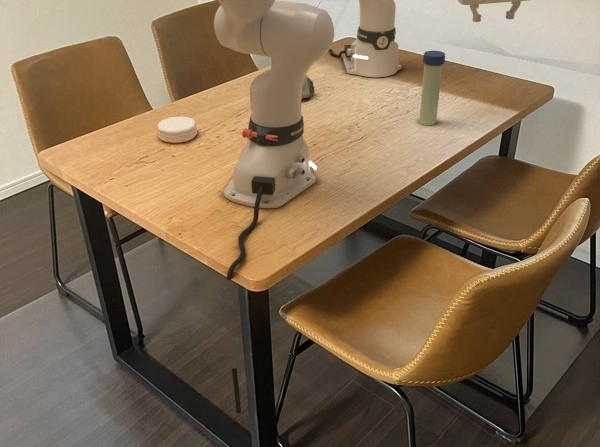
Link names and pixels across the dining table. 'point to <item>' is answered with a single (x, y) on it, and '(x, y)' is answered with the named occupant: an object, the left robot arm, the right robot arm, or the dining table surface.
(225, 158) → the dining table surface
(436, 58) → the lid
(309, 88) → the rock
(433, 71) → the green bottle
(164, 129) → the white round tin
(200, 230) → the dining table surface
